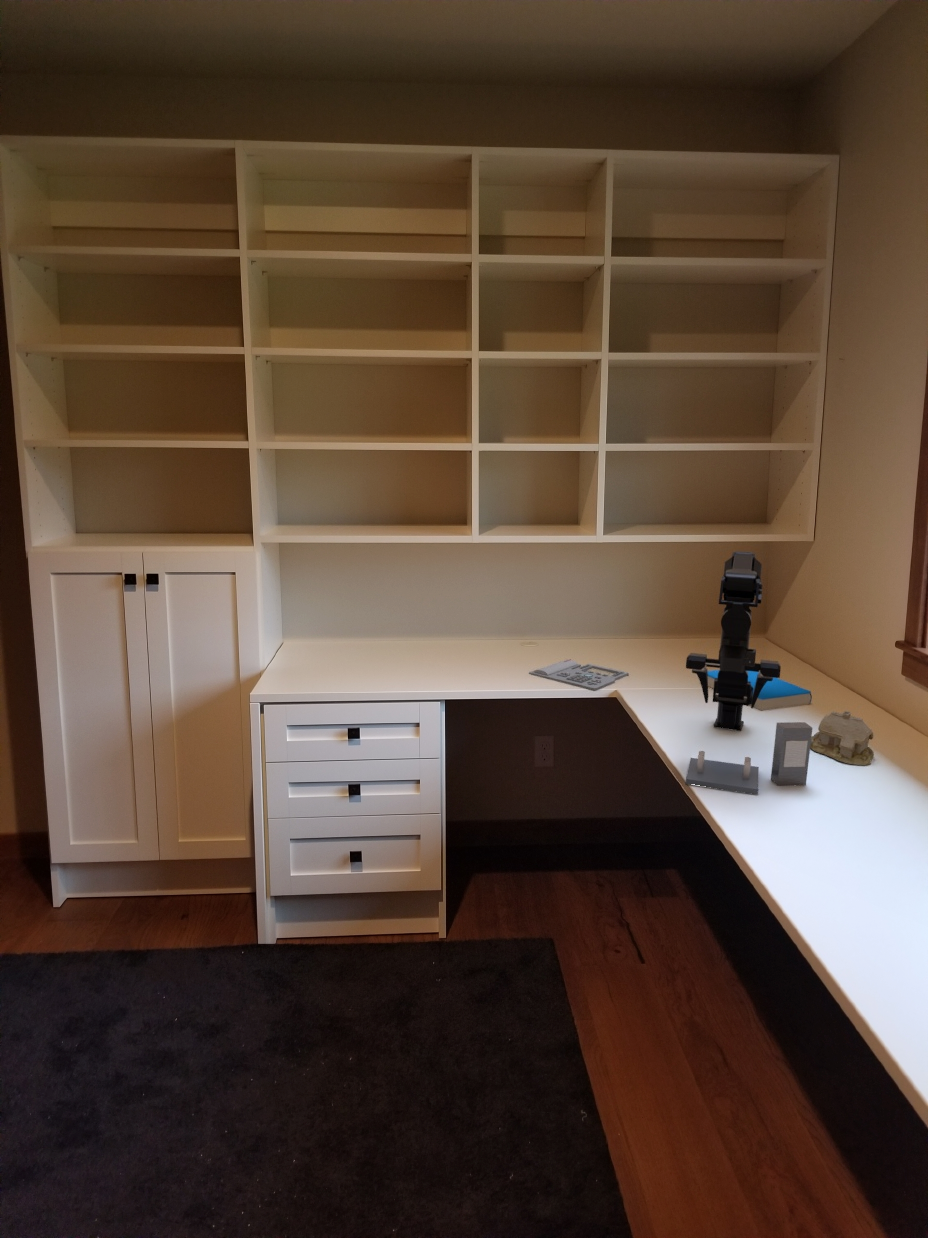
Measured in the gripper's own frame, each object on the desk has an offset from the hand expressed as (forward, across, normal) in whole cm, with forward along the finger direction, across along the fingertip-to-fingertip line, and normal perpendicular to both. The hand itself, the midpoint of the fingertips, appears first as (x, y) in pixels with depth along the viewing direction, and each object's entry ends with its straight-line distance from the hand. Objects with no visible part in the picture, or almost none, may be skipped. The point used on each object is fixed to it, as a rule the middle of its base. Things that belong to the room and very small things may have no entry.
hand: (729, 705), depth 176 cm
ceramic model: (+12, +25, +20) cm, 34 cm away
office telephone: (+8, -43, +58) cm, 72 cm away
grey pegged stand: (+15, 0, -4) cm, 15 cm away
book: (+7, +6, +58) cm, 59 cm away
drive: (+14, +13, -1) cm, 19 cm away
